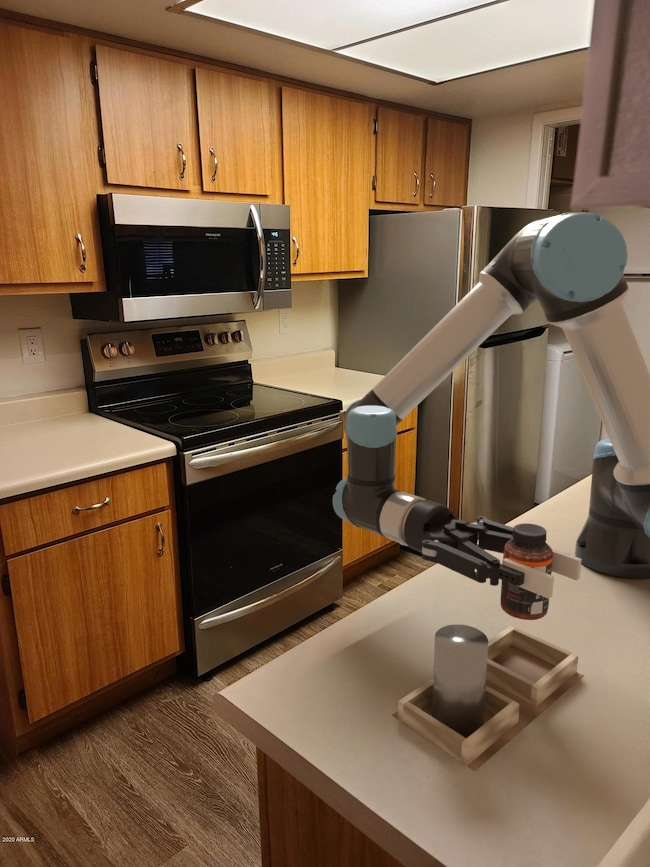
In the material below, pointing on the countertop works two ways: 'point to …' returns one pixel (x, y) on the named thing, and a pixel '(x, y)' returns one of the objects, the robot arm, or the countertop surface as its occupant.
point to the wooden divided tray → (499, 696)
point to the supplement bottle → (534, 554)
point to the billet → (460, 678)
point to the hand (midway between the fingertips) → (565, 578)
